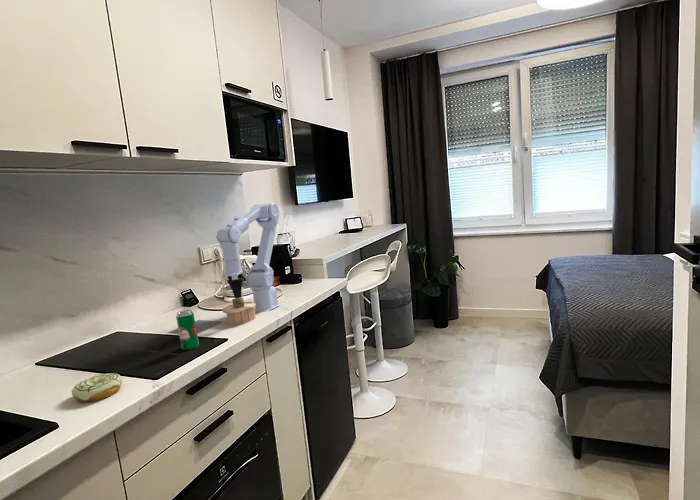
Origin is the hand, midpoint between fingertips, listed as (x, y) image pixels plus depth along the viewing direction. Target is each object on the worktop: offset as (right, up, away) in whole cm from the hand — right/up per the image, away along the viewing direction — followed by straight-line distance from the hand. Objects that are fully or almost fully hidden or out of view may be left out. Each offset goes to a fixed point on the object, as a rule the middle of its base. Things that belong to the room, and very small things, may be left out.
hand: (238, 295), depth 148 cm
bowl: (+1, -10, +1) cm, 10 cm away
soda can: (-8, -14, -23) cm, 28 cm away
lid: (0, -5, 0) cm, 5 cm away
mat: (-15, -12, -1) cm, 19 cm away
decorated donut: (-21, -19, -48) cm, 56 cm away
